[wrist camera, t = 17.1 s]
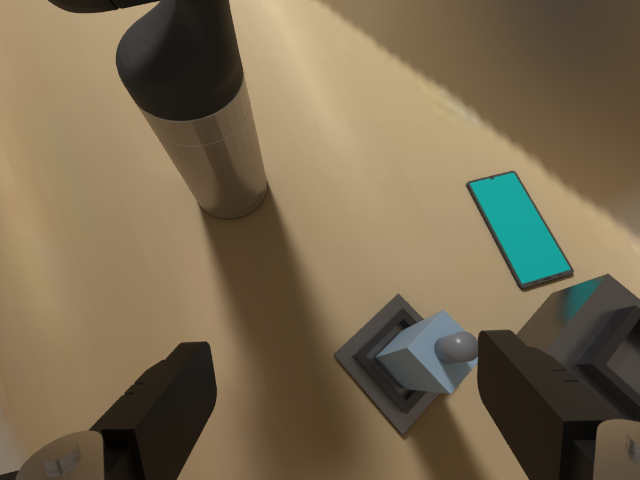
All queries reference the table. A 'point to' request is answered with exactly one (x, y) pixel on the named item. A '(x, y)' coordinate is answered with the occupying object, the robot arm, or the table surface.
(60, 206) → the table surface
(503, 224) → the smartphone
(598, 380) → the box with square opening
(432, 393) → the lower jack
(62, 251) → the table surface
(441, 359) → the plug
